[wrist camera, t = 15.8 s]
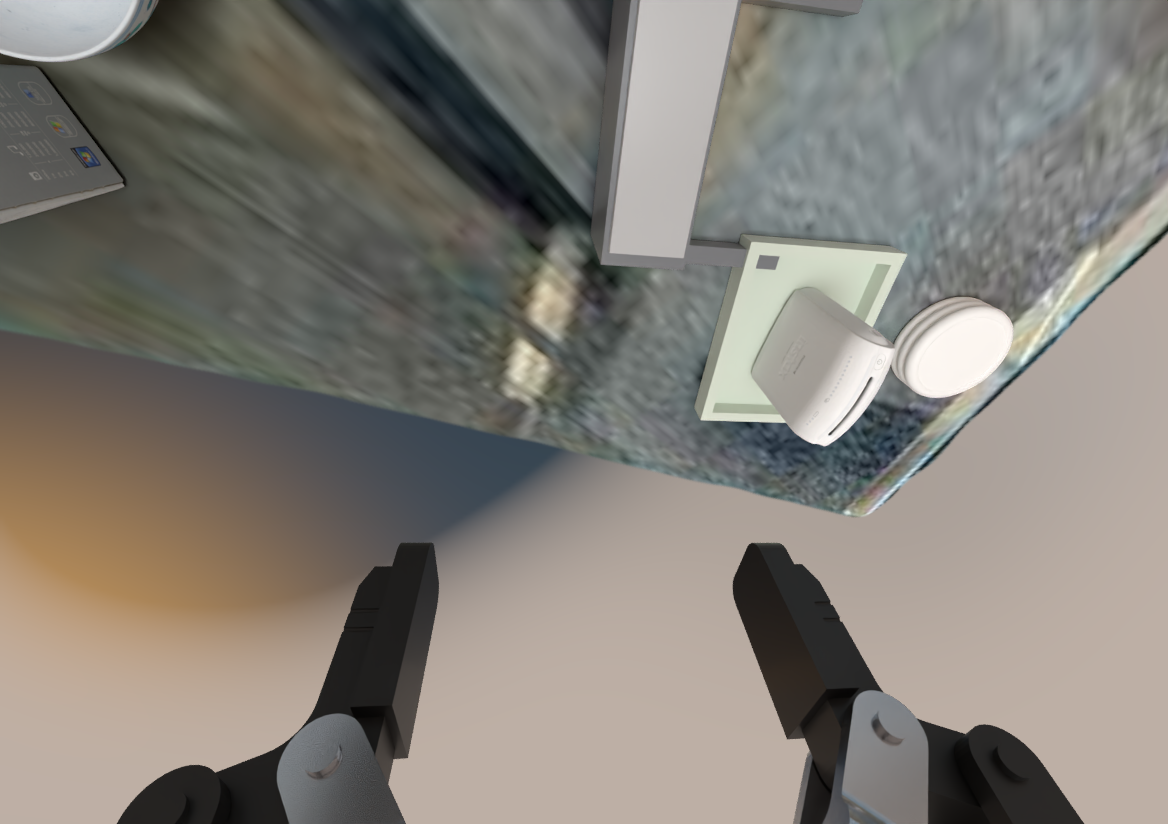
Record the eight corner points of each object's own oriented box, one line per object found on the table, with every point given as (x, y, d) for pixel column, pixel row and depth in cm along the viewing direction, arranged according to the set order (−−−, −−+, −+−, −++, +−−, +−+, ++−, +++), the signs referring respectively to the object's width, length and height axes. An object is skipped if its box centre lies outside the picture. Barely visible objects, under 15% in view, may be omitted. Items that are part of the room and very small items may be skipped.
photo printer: (793, 280, 43) (873, 341, 32) (833, 291, 44) (923, 354, 33) (742, 376, 48) (797, 453, 38) (779, 384, 49) (841, 461, 39)
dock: (617, -47, 30) (642, -88, 23) (851, -13, 32) (941, -40, 25) (589, 249, 40) (599, 284, 33) (766, 262, 42) (812, 298, 35)
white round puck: (1004, 332, 49) (1033, 348, 46) (916, 397, 53) (938, 415, 50) (961, 274, 44) (990, 287, 42) (869, 349, 48) (890, 366, 46)
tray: (741, 234, 40) (751, 241, 38) (890, 246, 42) (907, 253, 40) (694, 407, 51) (700, 420, 49) (815, 411, 52) (826, 423, 50)
